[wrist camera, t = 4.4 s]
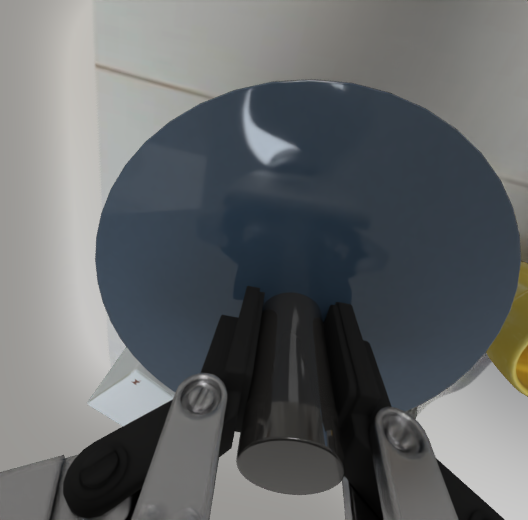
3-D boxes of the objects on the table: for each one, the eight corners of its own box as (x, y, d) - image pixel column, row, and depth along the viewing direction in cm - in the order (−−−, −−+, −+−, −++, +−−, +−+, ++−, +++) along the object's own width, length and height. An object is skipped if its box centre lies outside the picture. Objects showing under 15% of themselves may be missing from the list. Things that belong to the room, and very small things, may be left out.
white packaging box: (151, 308, 33) (81, 403, 22) (191, 278, 30) (135, 368, 19) (193, 344, 35) (149, 447, 24) (234, 319, 33) (206, 422, 22)
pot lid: (78, 40, 8) (-441, -146, 2) (615, 133, 8) (1452, 178, 2) (129, 384, 16) (38, 533, 10) (398, 433, 16) (458, 613, 10)
